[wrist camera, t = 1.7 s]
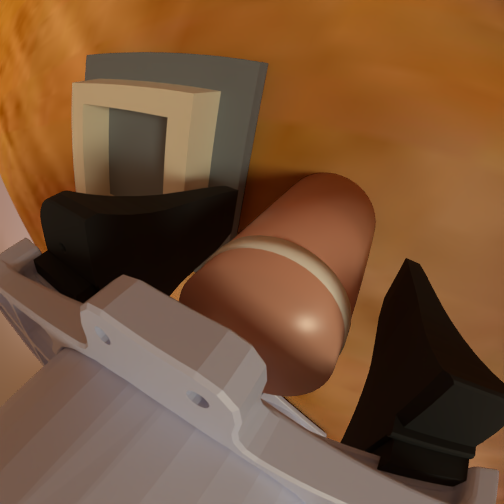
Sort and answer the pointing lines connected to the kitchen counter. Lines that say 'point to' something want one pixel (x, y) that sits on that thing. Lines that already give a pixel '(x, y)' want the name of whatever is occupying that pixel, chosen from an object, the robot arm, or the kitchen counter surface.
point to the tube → (292, 280)
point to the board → (165, 124)
